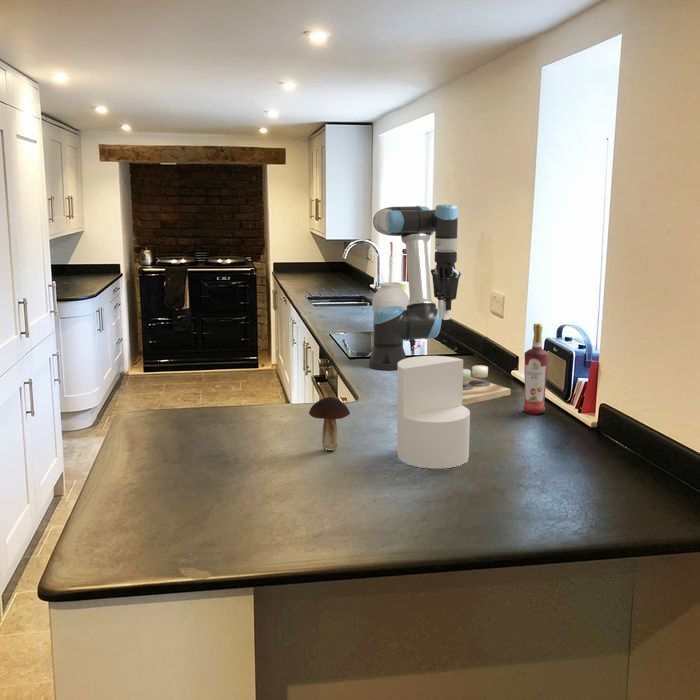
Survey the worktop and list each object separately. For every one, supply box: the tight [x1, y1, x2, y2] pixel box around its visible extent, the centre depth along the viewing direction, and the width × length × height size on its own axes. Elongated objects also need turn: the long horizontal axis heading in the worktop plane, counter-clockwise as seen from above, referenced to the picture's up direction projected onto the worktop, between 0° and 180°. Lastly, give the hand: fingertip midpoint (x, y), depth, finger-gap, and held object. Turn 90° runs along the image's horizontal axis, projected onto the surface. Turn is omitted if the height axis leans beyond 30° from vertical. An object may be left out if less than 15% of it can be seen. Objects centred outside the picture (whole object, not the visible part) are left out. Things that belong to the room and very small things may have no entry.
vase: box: [371, 281, 410, 314], centre depth 343 cm, size 18×18×25 cm
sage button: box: [463, 368, 472, 381], centre depth 245 cm, size 5×5×3 cm
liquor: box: [522, 323, 550, 415], centre depth 222 cm, size 7×7×28 cm
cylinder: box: [396, 355, 471, 469], centre depth 186 cm, size 19×19×25 cm
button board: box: [462, 376, 512, 406], centre depth 247 cm, size 22×24×3 cm
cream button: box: [471, 364, 489, 379], centre depth 250 cm, size 5×5×3 cm
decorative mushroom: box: [308, 396, 351, 449], centre depth 192 cm, size 11×11×15 cm
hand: (444, 318), depth 250 cm, fingers closed
